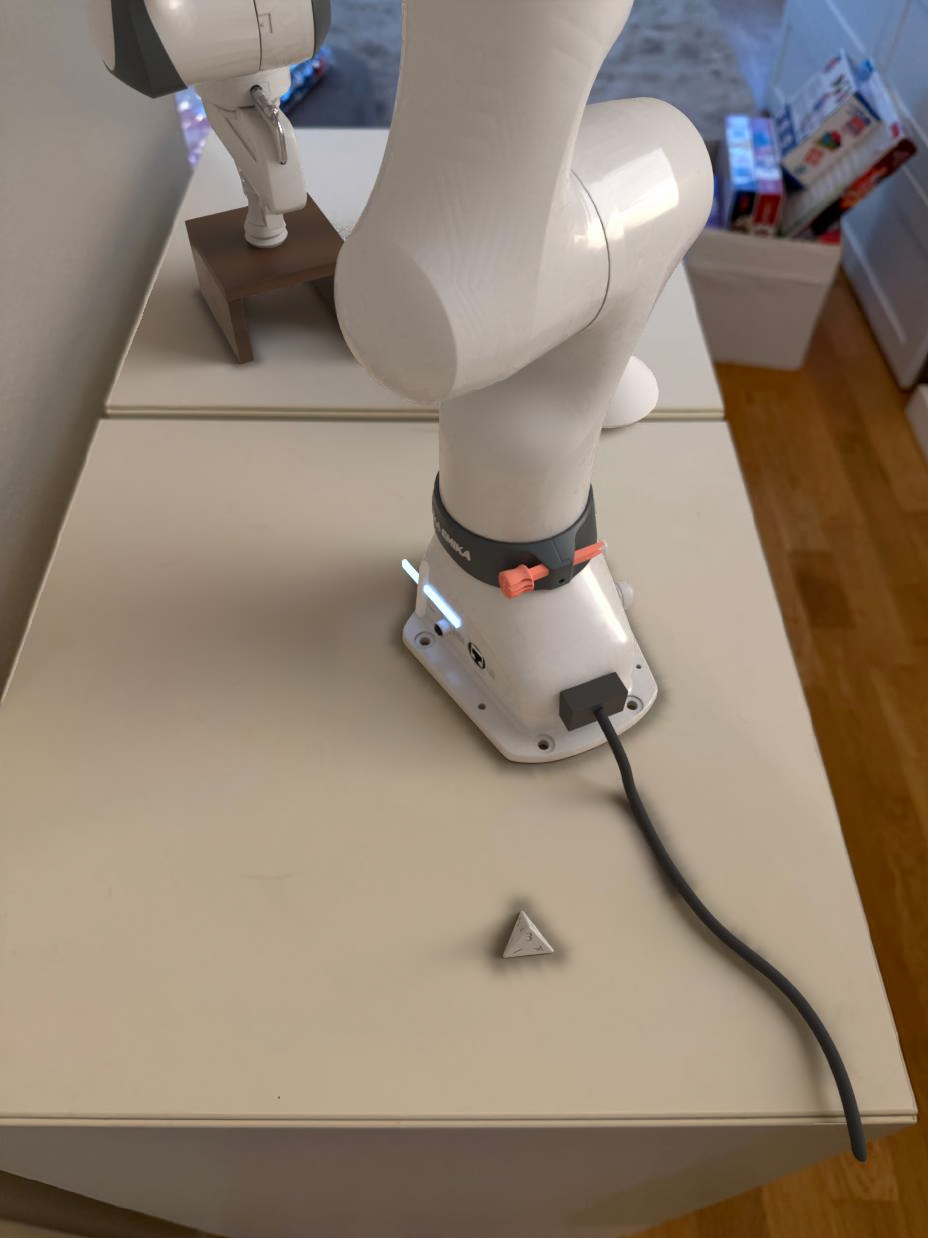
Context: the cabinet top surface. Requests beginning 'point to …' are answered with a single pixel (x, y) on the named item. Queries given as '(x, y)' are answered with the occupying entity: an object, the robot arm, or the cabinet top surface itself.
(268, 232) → the rook chess piece
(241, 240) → the shelf
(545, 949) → the tetrahedral die
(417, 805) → the cabinet top surface
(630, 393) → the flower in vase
